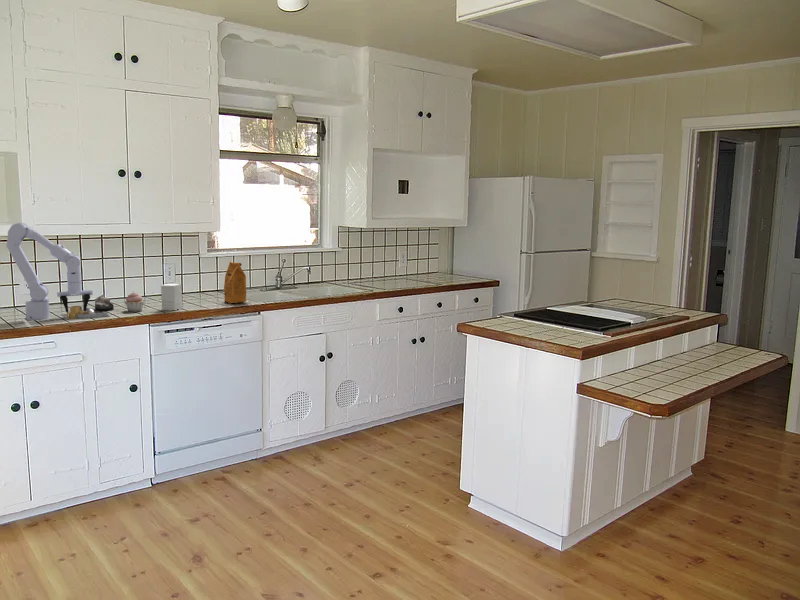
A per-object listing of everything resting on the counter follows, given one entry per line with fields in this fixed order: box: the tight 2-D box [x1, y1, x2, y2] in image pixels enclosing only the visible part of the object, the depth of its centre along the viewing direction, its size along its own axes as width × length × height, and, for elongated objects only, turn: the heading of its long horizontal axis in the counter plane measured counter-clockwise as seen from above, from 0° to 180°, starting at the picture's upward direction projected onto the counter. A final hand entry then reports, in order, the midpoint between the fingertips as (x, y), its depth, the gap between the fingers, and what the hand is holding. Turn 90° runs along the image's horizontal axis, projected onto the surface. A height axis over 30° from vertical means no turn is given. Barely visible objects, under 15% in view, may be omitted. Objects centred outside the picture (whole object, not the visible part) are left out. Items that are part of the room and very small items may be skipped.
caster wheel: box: [94, 294, 115, 312], centre depth 331 cm, size 7×11×10 cm
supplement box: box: [160, 283, 183, 311], centre depth 340 cm, size 7×7×13 cm
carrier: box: [61, 307, 111, 321], centre depth 314 cm, size 18×17×4 cm
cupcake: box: [124, 290, 145, 313], centre depth 334 cm, size 9×9×10 cm
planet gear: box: [66, 305, 85, 318], centre depth 311 cm, size 7×7×4 cm
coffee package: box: [223, 260, 247, 304], centre depth 366 cm, size 10×12×22 cm
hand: (76, 311), depth 311 cm, fingers open, 7 cm apart
